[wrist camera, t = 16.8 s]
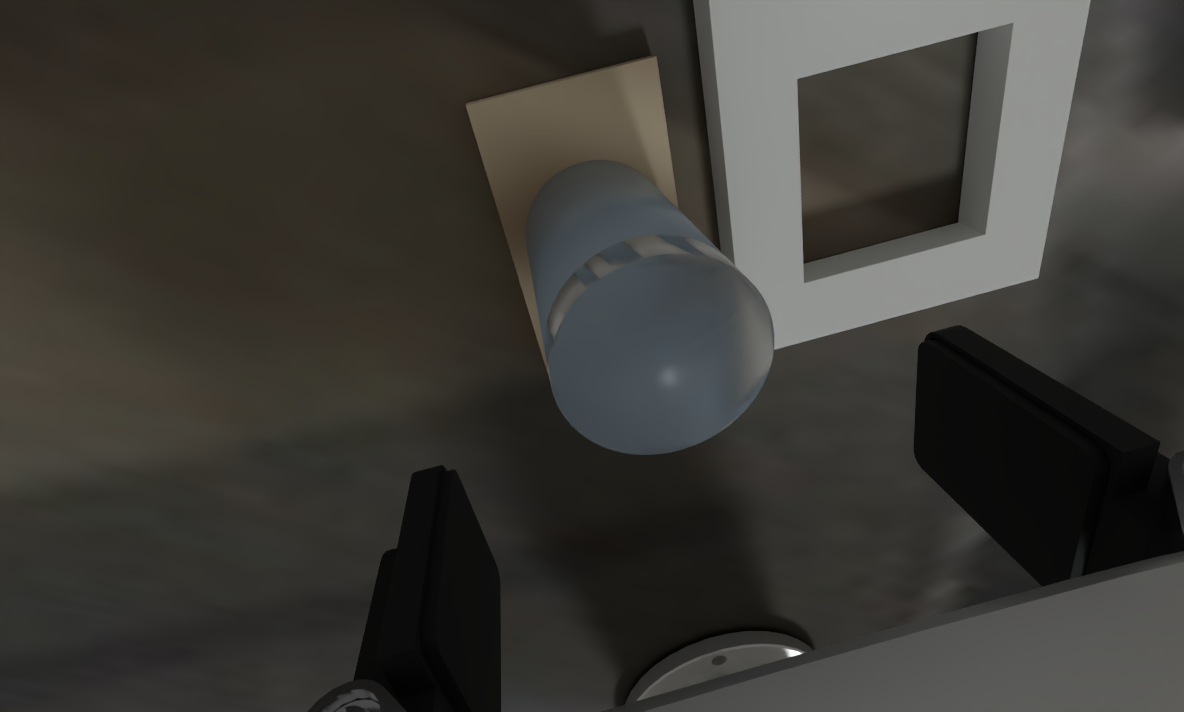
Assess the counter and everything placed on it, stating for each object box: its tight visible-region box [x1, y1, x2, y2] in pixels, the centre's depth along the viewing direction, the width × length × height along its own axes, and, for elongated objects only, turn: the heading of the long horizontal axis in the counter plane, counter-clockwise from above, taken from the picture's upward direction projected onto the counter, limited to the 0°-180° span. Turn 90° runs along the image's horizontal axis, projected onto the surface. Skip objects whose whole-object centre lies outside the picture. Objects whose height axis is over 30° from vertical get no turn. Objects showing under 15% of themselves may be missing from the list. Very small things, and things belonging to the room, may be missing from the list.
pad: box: [466, 55, 678, 375], centre depth 21 cm, size 10×6×1 cm, turn 12°
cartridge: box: [525, 160, 774, 455], centre depth 17 cm, size 5×5×9 cm
